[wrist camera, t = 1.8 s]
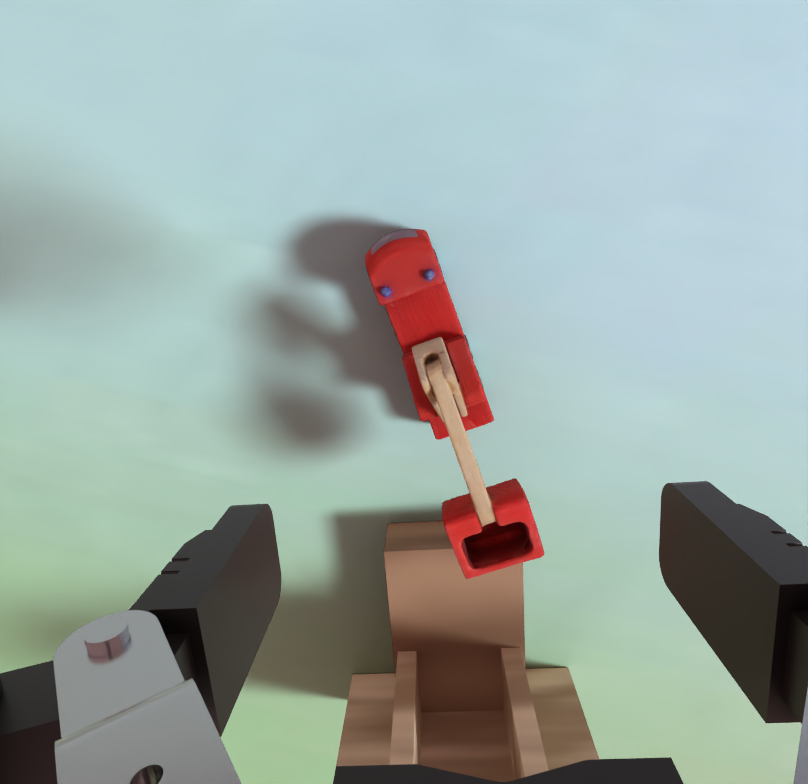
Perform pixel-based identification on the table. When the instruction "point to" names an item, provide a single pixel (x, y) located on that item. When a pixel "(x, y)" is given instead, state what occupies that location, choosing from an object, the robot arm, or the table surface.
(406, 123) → the table surface
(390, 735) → the board
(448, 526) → the toy fire truck
